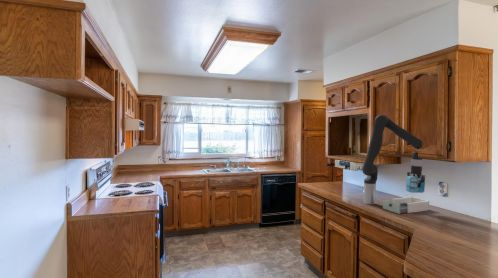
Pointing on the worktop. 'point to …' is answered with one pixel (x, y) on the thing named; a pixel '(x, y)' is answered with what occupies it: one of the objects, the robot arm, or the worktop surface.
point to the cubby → (413, 204)
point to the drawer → (395, 206)
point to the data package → (414, 185)
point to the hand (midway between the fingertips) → (415, 186)
